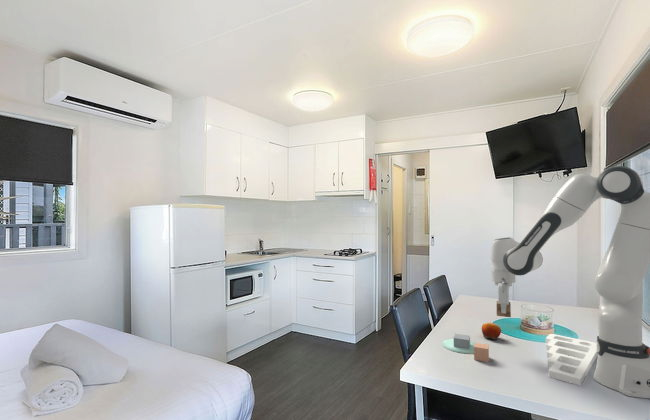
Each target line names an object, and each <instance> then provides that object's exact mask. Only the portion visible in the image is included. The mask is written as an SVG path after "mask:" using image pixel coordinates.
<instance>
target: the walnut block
mask: <svg viewBox="0 0 650 420" xmlns="http://www.w3.org/2000/svg"><path fill="white" fill-rule="evenodd" d="M511 307H512V306H511V301H509V304H508V305H507V306H506V313H501V304H499V303H498V300H496V317H504V318H512V316H511V315H512V313H511V311H512V309H511Z"/></svg>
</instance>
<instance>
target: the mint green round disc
mask: <svg viewBox="0 0 650 420" xmlns="http://www.w3.org/2000/svg"><path fill="white" fill-rule="evenodd" d="M475 343H476V342H475V341H472V340H471V335H468V334H461V333H454V336H453V338H448V339H444V340H443V341H442V342H441V344H443V345H442V347H443V348H445V349H446V348H447V350H448V349H449V350H448V351H451V352H455V353H459V354H464V355H465V354H468V355H469V354H470V355H474V344H475Z"/></svg>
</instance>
